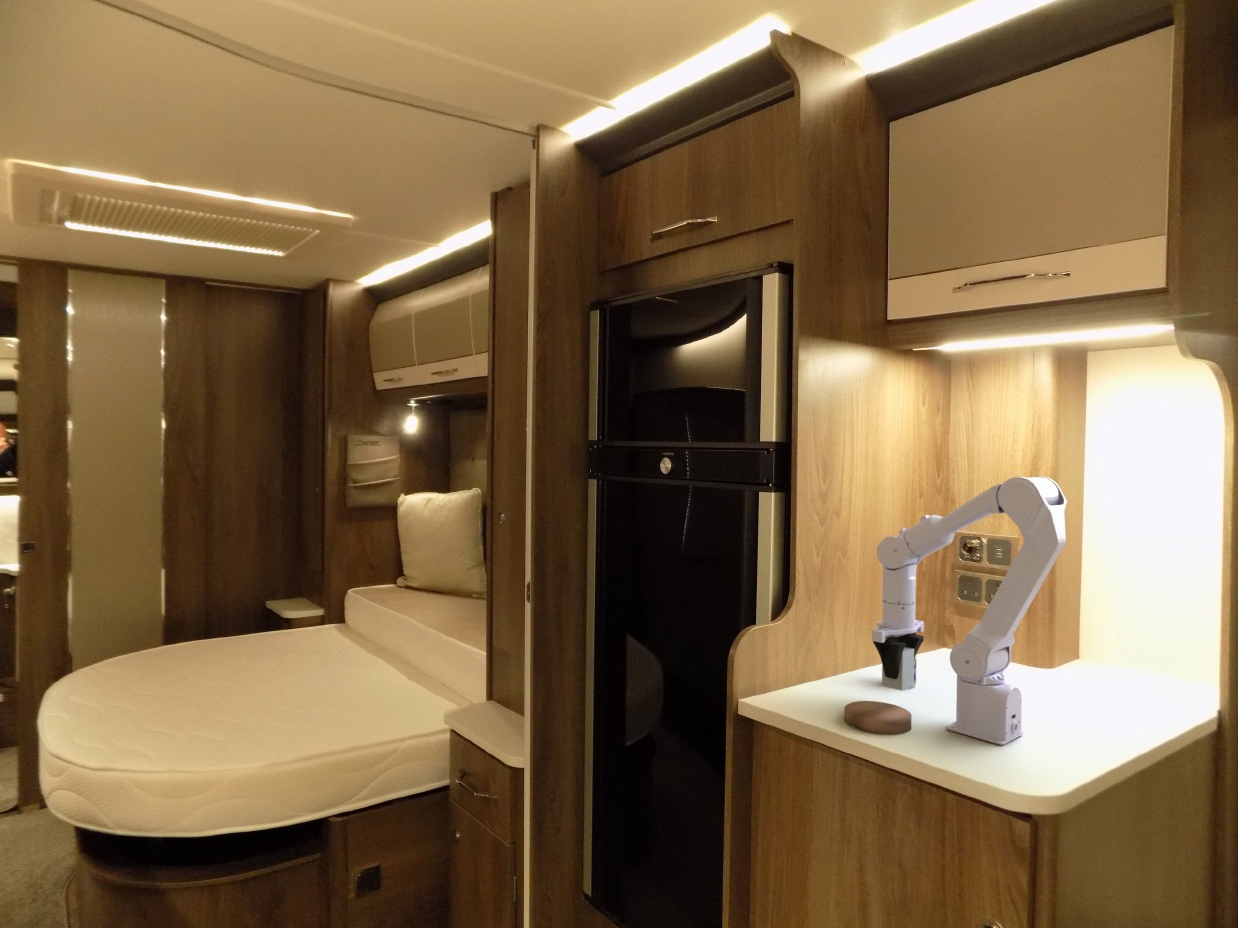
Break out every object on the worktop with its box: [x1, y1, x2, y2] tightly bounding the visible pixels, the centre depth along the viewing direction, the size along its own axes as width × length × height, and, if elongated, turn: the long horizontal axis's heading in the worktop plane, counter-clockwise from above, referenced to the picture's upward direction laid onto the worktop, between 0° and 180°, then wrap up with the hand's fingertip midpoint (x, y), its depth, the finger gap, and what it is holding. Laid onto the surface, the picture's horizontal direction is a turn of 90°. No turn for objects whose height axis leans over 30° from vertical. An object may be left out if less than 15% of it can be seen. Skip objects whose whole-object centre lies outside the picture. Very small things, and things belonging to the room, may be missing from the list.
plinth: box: [843, 700, 913, 736], centre depth 131 cm, size 11×11×2 cm
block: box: [881, 647, 915, 692], centre depth 139 cm, size 4×4×7 cm
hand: (897, 675), depth 139 cm, fingers closed on block, 4 cm apart
